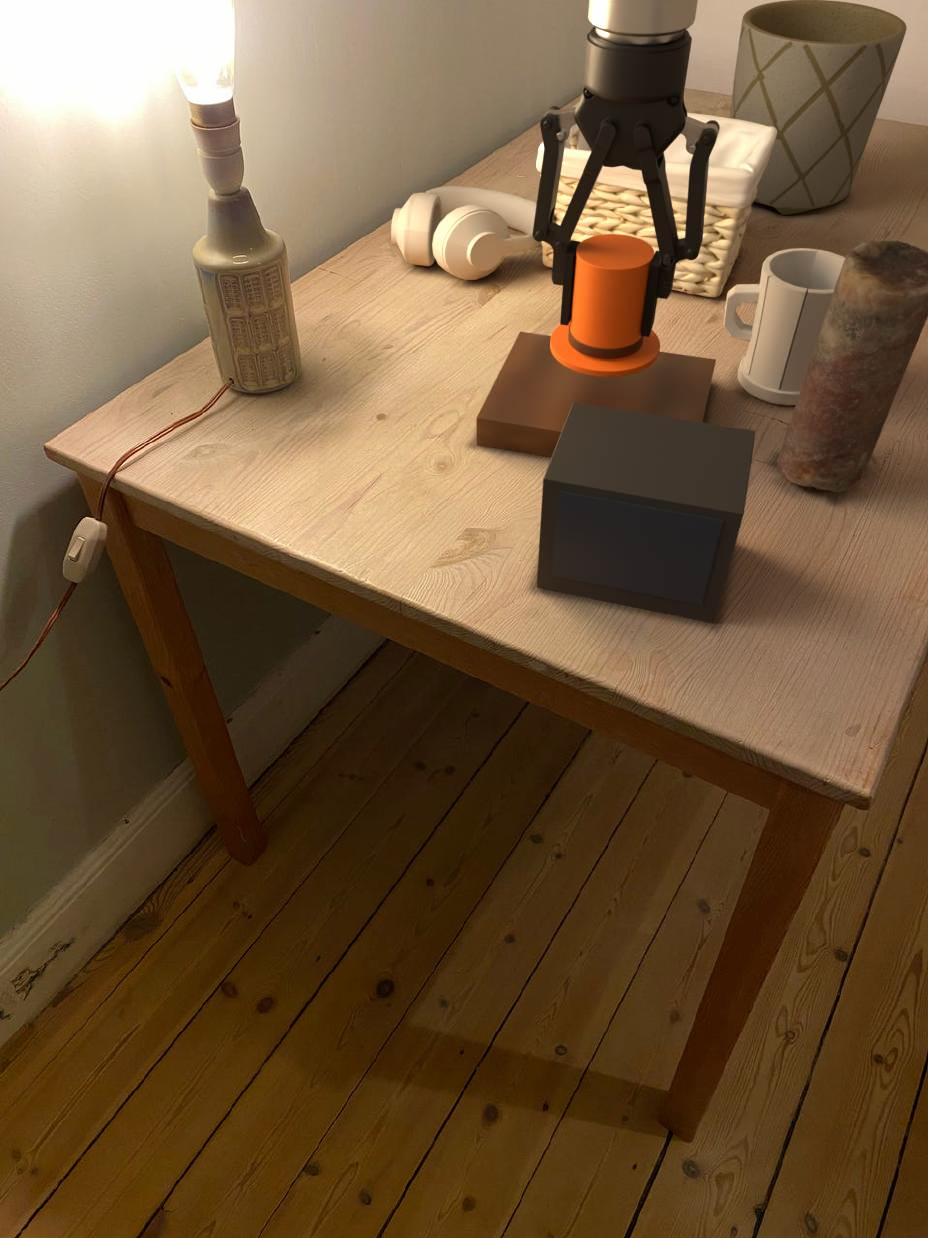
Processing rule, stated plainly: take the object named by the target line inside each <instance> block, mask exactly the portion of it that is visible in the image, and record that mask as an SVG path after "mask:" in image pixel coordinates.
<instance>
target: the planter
mask: <svg viewBox="0 0 928 1238" xmlns="http://www.w3.org/2000/svg"><path fill="white" fill-rule="evenodd" d="M906 33H907V24H906V23H905V21H904V20H903V19H902V18H900V17H899V16H897V15H895V14H894V13H892V12H890V11H886V10H883V9H881V8H877V7H874V6H869V5H864V4H859V3H854V2H847V1H840V0H838V1H837V0H781V1H780V0H779V1H772V2H768V3H763V4H759V5H757V6H755V7H752V8H750V9H748V10H746V12H745V13H743V16H742V19H741V25H740V33H739V38H738V39H739V40H738V47H737V48H738V49H737V54H736V61H735V69H734V78H733V85H732V94H731V103H730V108H729V109H730V111H729V117H728V118H732V119H738V120H744V121H749V122H753V123H758V124H762V125H765V126H768V127H775V128H776V129H777V136H776V139H775V142H774V145H773V148H772V152H771V155H770V158H769V161H768V164H767V166H766V168H765V170H764V172H763V174H762V177H761V179H760V181H759V184H758V185H757V194H756V198H755V200H754V201H753V203H758V204H761V205H765V206H769V207H771V208H774V209H775V210H776V211H777V213H778V214H779V215H781V216H789V215H794V214H795V215H796V214H800V213H803V212H804V213H805V212H808V211H814V210H818V209H822V208H825V207H829V206H832V205H835V204H838V203H840V202H841V201H843V200H845V199H846V198H847V197H848V196H849V193H850V191H851V189H852V186H853V184H854V181H855V179H856V176H857V172H858V170H859V166H860V163H861V161H862V158H863V155H864V152H865V150H866V147H867V143H868V140H869V138H870V136H871V133H872V130H873V127H874V124H875V121H876V119H877V116H878V113H879V110H880V108H881V105H882V103H883V100H884V97H885V94H886V91H887V88H888V86H889V83H890V80H891V77H892V74H893V72H894V68H895V65H896V62H897V59H898V57H899V53H900V52H901V48H902V46H903V45H902V44H903V42H904V39H905V36H906Z"/></svg>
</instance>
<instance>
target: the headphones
mask: <svg viewBox="0 0 928 1238" xmlns="http://www.w3.org/2000/svg"><path fill="white" fill-rule="evenodd" d="M536 205H537V201H535V200H531V199H528V198H525V197H523V196H520V195H516V194H512V193H509V192H504V191H499V190H494V189H488V188H481V187H477V186H460V185H444V186H443V185H442V186H437V187H434V188H431V189H429V190H426V191H425V192H421V191H419V192H414V193H412V194H411V195H410V196H409V198H408V199H407V200H406V202H405V204H404V205H403V206H402V207H401V208H400V207H396V208H395V209H394V211H393V215H392V218H391V226H390V240H391V244H392V246H395V247H398V248H399V250H400V253H401V254H402V256H403V259H404V260H405V263H406V264H410V265H415V266H423V267H432V265H433V264H434V263H435V261H436V262H437V265H438V266H440V268H442V269H443V270H444V271H445V272H447V273H449V274H450V275H452V276H454V277H456V278H459V279H462V280H465V281H477V280H479V279H482V278H485V277H487V276H488V275H491V274H492V273H493V272H495V271H496V270H497V269H498V267H499V266H500V265H501V264H502V263H503V262H504V260H505V258H506V256H509V255H513V254H518V253H523V252H527V251H532V250H535V249H537V248H538V249H539V250H541V251H542V248H543V247H542V243H541V242H538V241H536V240H535V239H534V238H533V234H532V233H533V226H534V219H535V212H536ZM510 229H513V230H516V231H518V232H521V233H524V234H525V235H518V236H512V237H511V233H510V232H511V231H510Z"/></svg>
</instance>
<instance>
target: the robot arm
mask: <svg viewBox="0 0 928 1238" xmlns="http://www.w3.org/2000/svg"><path fill="white" fill-rule="evenodd" d="M697 9H698V0H589V1H588V14H587V19H588V21H589V23H591V25H592V26H593V27H592V28H591V29H590V31H589V32H588V33H587V35H586V44H585V53H584V54H585V55H584V69H583V79H582V80H583V82H582V92H581V96H580V98H579V100H578V102H577V103H578V104H577V103H576V104H577V105H576V104H575V105H576V107H574V106H571V107H566V108H562V109H561V108H560V107H559V106H557V105H552V106H550V107H549V108H548V109H547V110H546V112H545V114H544V115H543V117H542V118H541V120H540V123H539V127H540V128H539V129H540V134H541V138H542V142H543V144H544V155H543V162H542V169H541V172H540V174H541V176H540V175H539V184H538V191H537V198H536V202H537V205H536V212H535V219H534V226H533V233H532V234H533V238H534V239H535V240H536V241H538V242H542V241H544V242H546V243H548V244H549V245H550V246H551V247H552V249H553V265H552V269H551V281H552V284H553V285H556V286H562V292H561V293H562V294H561V305H560V306H561V309H560V319H559V321H560V322H559V325H560V324H561V325H569V323H570V320H571V308H572V296H573V283H574V270H575V258H576V248H577V246H578V244H579V243H580V241H573V240H572V241H571V237H572V235H573V233H574V230H575V228H576V226H577V224H578V221H579V219H580V217H581V215H582V212H583V210H584V208H585V205H586V203H587V201H588V199H589V196H590V194H591V192H592V190H593V187H594V185H595V183H596V181H597V178H598V176H599V174H600V172H601V169H602V167H618V166H625V167H628V168H630V169H633V170H641V172H642V176H643V181H644V184H645V185H646V189H647V193H648V198H649V203H650V208H651V213H652V218H653V223H654V228H655V233H656V238H657V243H658V248H659V251H656V252H655V255H654V258H653V260H652V263H651V268H650V275H649V282H648V289H647V296H646V303H645V310H644V317H643V324H642V331H641V336H645V337H649V336H650V333H651V330H653V327H654V323H655V319H656V312H657V306H658V299H664V300H668V298H669V297H670V295H671V292H672V291H673V290H672V286H673V280H674V274H675V268H676V263H677V262H679V261H680V260H684V259H688V260H694V259H696V258H697V257H698V255H699V252H700V248H701V244H702V240H703V228H704V216H705V203H706V191H707V179H708V167H709V157H710V154H711V152H712V150H713V147H714V145H715V143H716V140H717V136H718V133H719V129H720V126H719V124H718V122H717V121H715V120H710V121H708V122H707V123H704V122H701V121H699V120H696V119H694V118H691V117H688V116H687V112H688V111H687V108H686V104H685V98H684V97H685V88H686V81H687V75H688V68H689V61H690V55H691V47H692V41H693V38H692V36H691V34H690V32H689V31H688V29H689V28H690V27H691V26H692V25H694V24H695V20H696V14H697ZM575 124H577V126H578V128H579V129H580V131H581V133H582V135H583V137H584V138H585V140H586V142H587V144H588V146H589V147H590V149H591V154H590V156H589V158H588V161H587V163H586V165H585V168H584V170H583V173H582V176H581V178H580V180H579V183H578V185H577V187H576V190H575V192H574V194H573V197H572V199H571V201H570V204H569V206H568V208H567V211H566V213H565V215H564V218H563V220H562V222H561V225H558V224H556V223H554V222H553V219H554V213H555V206H556V200H557V193H558V187H559V181H560V174H561V168H562V161H563V155H564V149H565V141H566V140H567V139H568V138H569V136H570V134H571V132H572V126H573V125H575ZM680 133H681V134H682V135H684V136H685V138H686V150H687V152H688V153H690V154H692V155H693V156H692V160H691V164H690V171H689V184H688V199H687V214H686V229H685V238H682V239H678V234H677V228H676V223H675V218H674V212H673V207H672V202H671V196H670V191H669V185H668V180H667V175H666V163H665V157H664V151H665V150H666V149H667V148H668V147H669V146H670V145H671V144H672V142H673V141H674V140H675V139H676V138H677V137H678V136H679V135H680Z"/></svg>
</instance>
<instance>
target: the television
mask: <svg viewBox="0 0 928 1238" xmlns="http://www.w3.org/2000/svg"><path fill="white" fill-rule="evenodd" d="M756 432H757V431H756V430H752V429H746V428H739V427H733V426H727V425H721V424H715V423H710V422H709V423H708V422H704V421H703V422H696V421H690V420H684V419H677V418H671V417H664V416H658V415H652V414H645V413H639V412H633V411H626V410H620V409H614V408H607V407H601V406H595V405H588V404H582V403H576V402H573V404H572V406H571V409H570V412H569V414H568V417H567V419H566V422H565V424H564V427H563V429H562V432H561V435H560V437H559V440H558V442H557V445H556V447H555V450H554V453H553V455H552V457H550V460H549V462H548V465H547V468H546V470H545V473H544V475H543V479H542V490H541V491H542V493H541V508H540V510H541V511H540V523H539V539H538V540H539V542H538V554H537V555H538V556H537V572H536V573H537V574H536V588H537V589H542V590H548V591H552V592H557V593H562V594H567V595H571V596H572V595H573V596H576V597H577V596H578V597H582V598H586V599H592V600H597V601H602V602H607V603H611V604H616V605H622V606H627V607H631V608H637V609H642V610H646V611H650V612H651V611H652V612H656V613H661V614H667V615H671V616H675V617H676V616H677V617H682V618H686V619H691V620H696V621H701V622H705V623H710V624H714V622H715V620H716V617H717V612H718V608H719V606H720V601H721V598H722V594H723V591H724V587H725V583H726V580H727V576H728V573H729V570H730V569H729V568H730V565H731V561H732V558H733V553H734V551H735V546H736V543H737V540H738V536H739V532H740V529H741V525H742V521H743V519H744V514H745V508H746V501H747V493H748V489H749V488H748V487H749V479H750V473H751V468H752V467H751V466H752V460H753V454H754V445H755V439H756V434H757V433H756Z"/></svg>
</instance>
